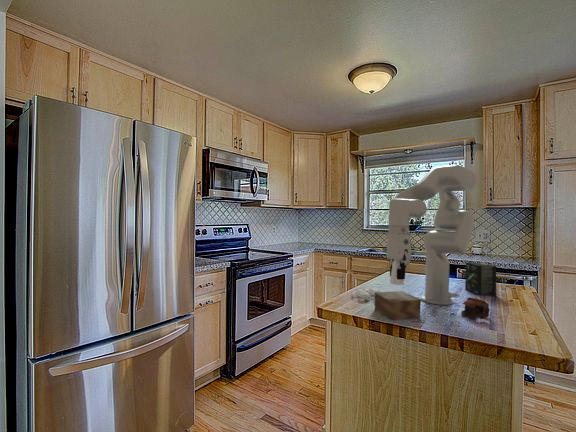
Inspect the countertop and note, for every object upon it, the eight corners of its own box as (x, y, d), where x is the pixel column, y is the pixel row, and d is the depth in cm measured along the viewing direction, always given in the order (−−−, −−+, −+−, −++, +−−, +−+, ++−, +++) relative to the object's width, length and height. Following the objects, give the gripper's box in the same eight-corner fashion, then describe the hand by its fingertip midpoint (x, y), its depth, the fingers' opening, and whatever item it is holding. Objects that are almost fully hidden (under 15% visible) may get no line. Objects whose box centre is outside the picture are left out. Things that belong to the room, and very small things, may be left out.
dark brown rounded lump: (453, 315, 121) (459, 295, 123) (475, 326, 121) (480, 306, 123) (475, 317, 109) (481, 295, 112) (499, 329, 109) (504, 307, 112)
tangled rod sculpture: (351, 293, 155) (351, 284, 155) (381, 292, 152) (380, 284, 152) (353, 302, 136) (352, 293, 136) (387, 302, 133) (386, 292, 133)
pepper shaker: (401, 285, 115) (401, 256, 115) (387, 283, 119) (388, 254, 119) (406, 283, 119) (407, 255, 119) (392, 281, 123) (393, 253, 123)
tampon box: (496, 295, 150) (497, 265, 150) (477, 295, 150) (478, 265, 150) (482, 290, 161) (483, 262, 161) (464, 289, 161) (465, 261, 161)
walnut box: (401, 307, 127) (401, 291, 127) (420, 318, 115) (421, 299, 115) (374, 309, 124) (374, 292, 124) (391, 320, 112) (391, 301, 112)
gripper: (421, 232, 112) (419, 282, 112) (394, 229, 128) (393, 273, 128) (403, 231, 110) (401, 283, 110) (378, 229, 126) (377, 273, 126)
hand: (397, 277), depth 119 cm, fingers closed on pepper shaker, 3 cm apart
